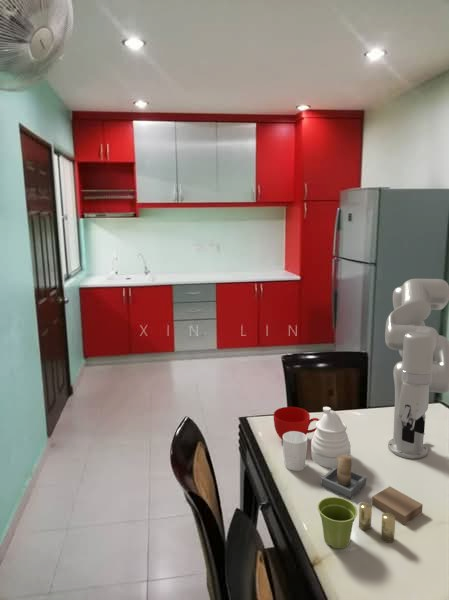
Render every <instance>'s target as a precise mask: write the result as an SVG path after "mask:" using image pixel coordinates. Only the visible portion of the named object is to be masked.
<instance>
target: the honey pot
mask: <svg viewBox="0 0 449 600" xmlns="http://www.w3.org/2000/svg"><path fill="white" fill-rule="evenodd" d="M322 412H323V413H324V414H323V415H322V416H321V419H319V421H316V423H315V428H317V429H316V430H315V431H314V432H313V433H314V434H313V435H312V436H313V437H312V439H311V442H310V443H311V444H310V445H311V446H310V458H311V460H312V461H313V462H314V463H315V464H317V465H319V466H322V467H324V468H328V467H329V468H328V469H330V468H331V469H333V468H334V467H336V466H337V464H338V456H339V455H347V456H349V457H351V454H352V453H351V441H350V440H349V439H350V438H349V437H348V433H347V431H346V430H347V425H346V423H345V422H343V421H342V420H341V417H340V416H339V414H338V413H337V412H336V411H334V410H333V409H332V408H331V407H329V406H323V407H322Z"/></svg>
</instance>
